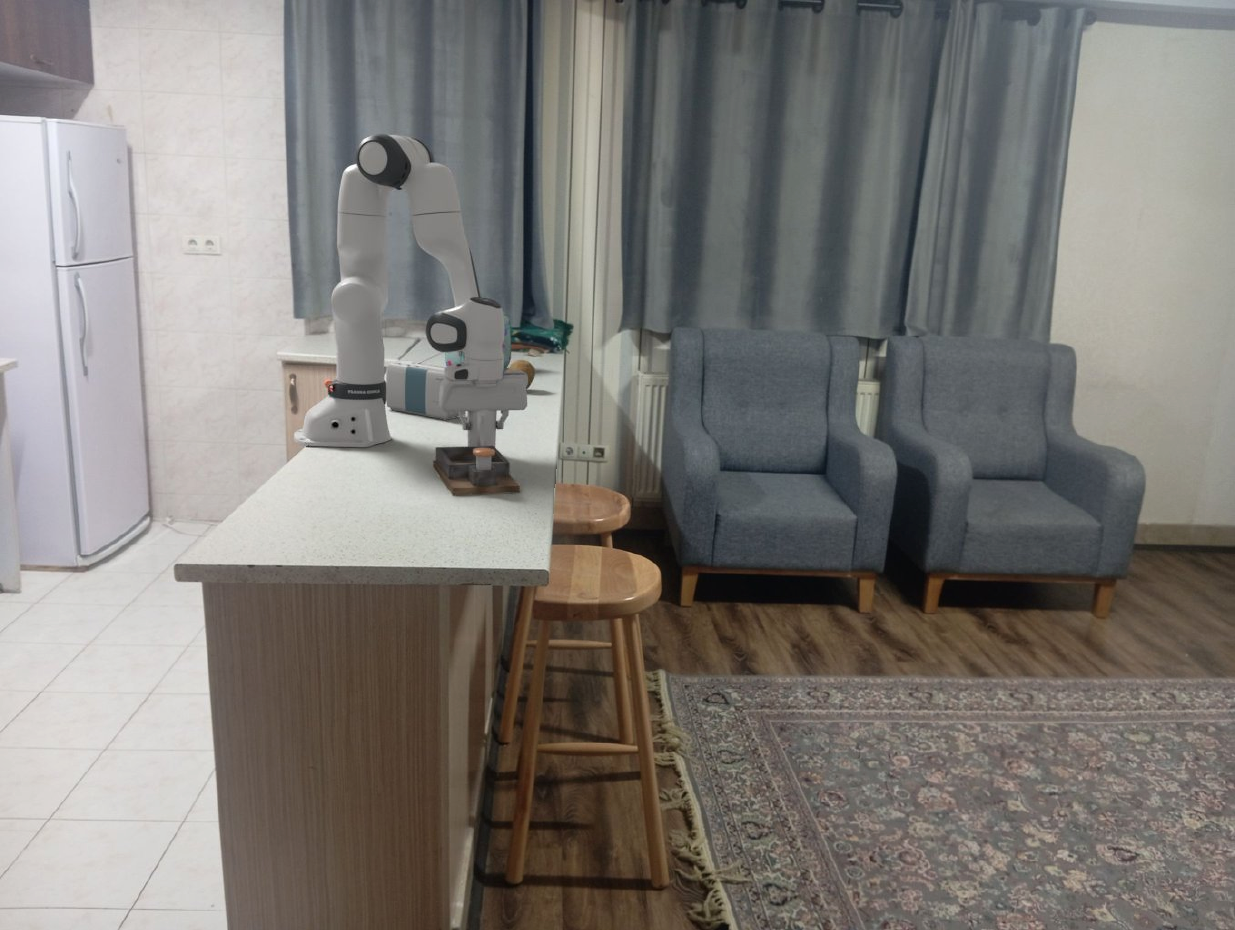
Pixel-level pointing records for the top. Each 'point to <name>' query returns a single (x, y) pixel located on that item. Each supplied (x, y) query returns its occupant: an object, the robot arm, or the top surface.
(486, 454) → the click button
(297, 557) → the top surface
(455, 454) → the board
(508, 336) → the lunch box
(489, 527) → the top surface
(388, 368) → the stereo radio cassette player
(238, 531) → the top surface
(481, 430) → the mug
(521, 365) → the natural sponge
